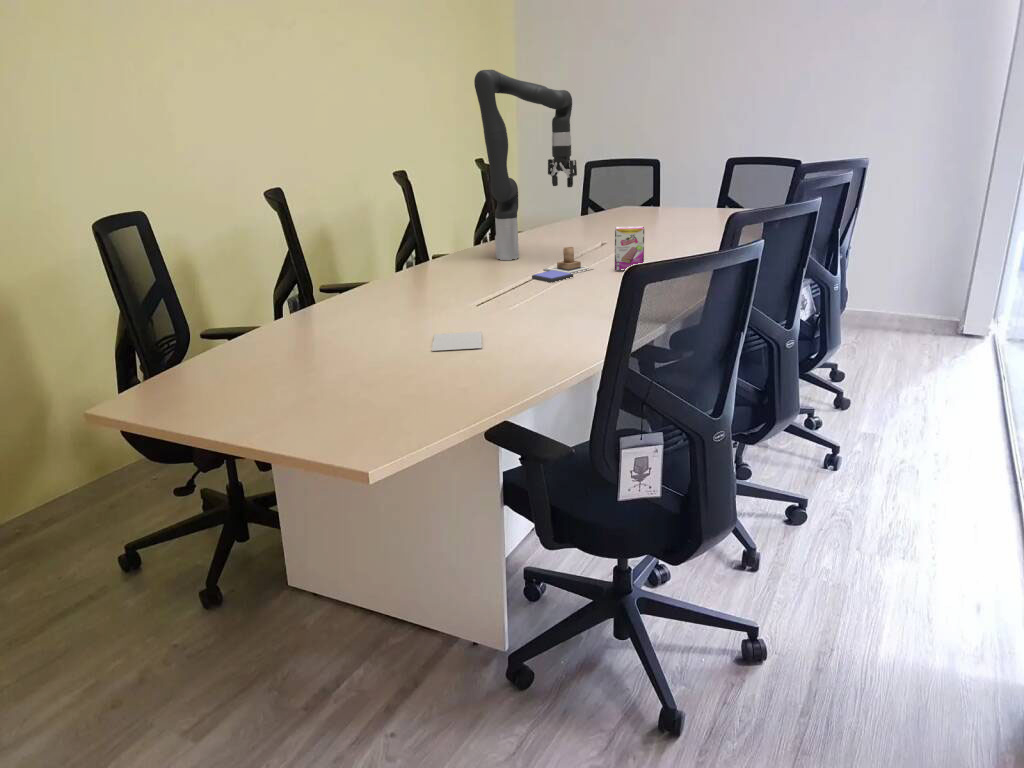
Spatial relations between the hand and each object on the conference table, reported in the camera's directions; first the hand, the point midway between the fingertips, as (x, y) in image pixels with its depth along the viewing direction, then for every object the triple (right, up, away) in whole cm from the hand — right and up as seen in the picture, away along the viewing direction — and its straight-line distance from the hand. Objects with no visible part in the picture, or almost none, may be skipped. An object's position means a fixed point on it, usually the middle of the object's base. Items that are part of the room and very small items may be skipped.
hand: (562, 186), depth 331 cm
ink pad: (-5, -39, -18) cm, 43 cm away
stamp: (+2, -33, -6) cm, 34 cm away
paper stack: (-31, -68, -96) cm, 121 cm away
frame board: (+2, -34, -5) cm, 34 cm away
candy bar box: (+25, -35, -11) cm, 44 cm away
